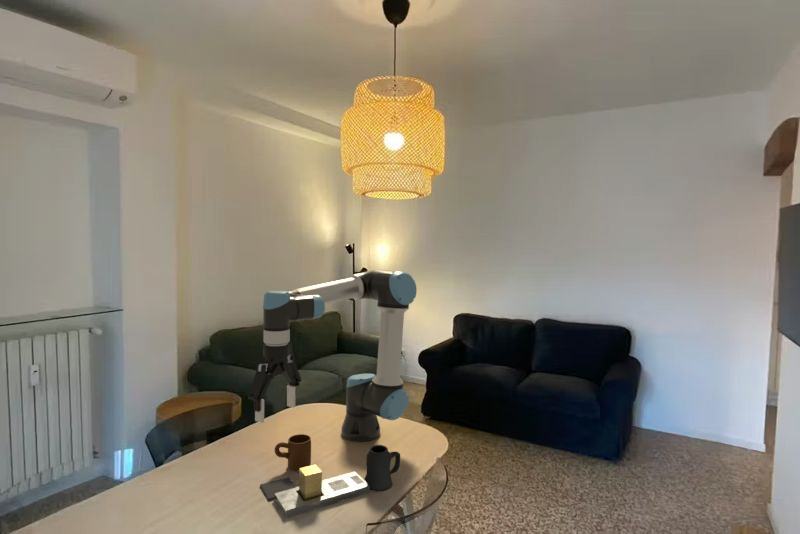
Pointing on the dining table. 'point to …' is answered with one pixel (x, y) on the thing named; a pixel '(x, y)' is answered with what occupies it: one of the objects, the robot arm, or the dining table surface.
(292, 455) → the mug
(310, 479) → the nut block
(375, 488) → the mug
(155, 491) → the dining table surface
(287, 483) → the rubber mat
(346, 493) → the grey board with slots
